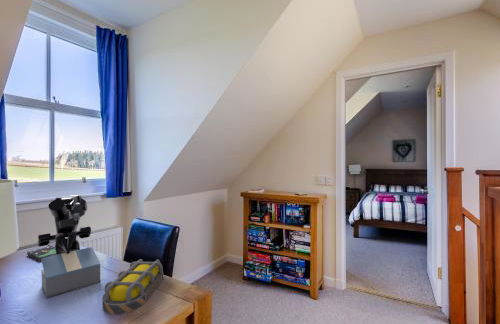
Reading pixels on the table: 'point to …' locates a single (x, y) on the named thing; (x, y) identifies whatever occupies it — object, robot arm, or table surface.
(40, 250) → the disk drive
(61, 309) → the table surface
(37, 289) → the table surface
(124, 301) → the cage light
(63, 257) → the lid
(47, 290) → the storage box
